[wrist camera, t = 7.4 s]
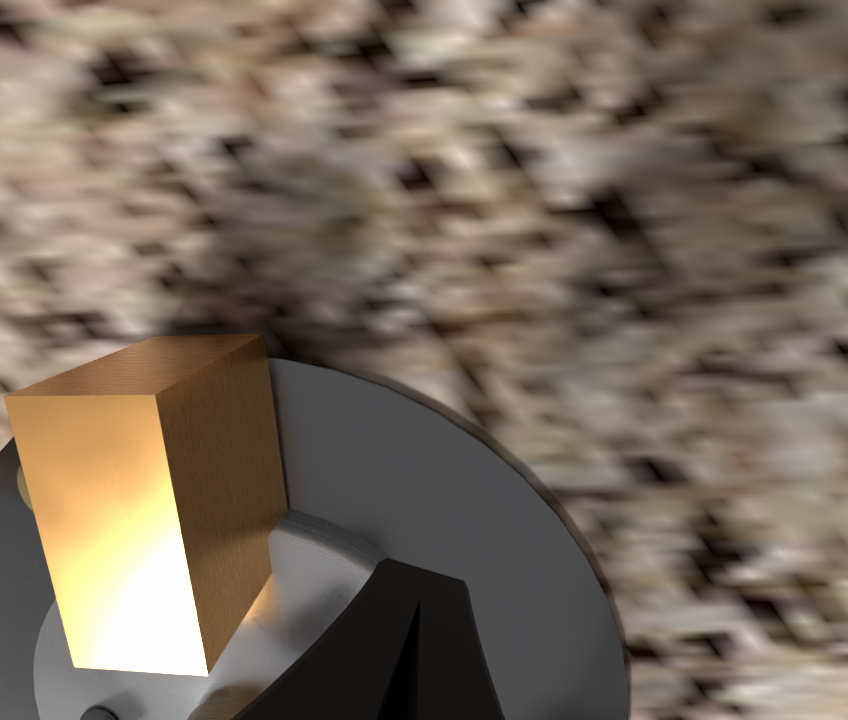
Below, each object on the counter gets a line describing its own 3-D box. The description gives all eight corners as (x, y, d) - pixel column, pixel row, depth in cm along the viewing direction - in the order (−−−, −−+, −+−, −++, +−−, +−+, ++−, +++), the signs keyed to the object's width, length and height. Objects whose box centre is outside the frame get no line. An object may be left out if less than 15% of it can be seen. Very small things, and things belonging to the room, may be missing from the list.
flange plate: (465, 327, 12) (444, 391, 8) (486, 874, 16) (480, 1093, 12) (-16, 340, 13) (-227, 398, 9) (114, 832, 17) (1, 1013, 13)
